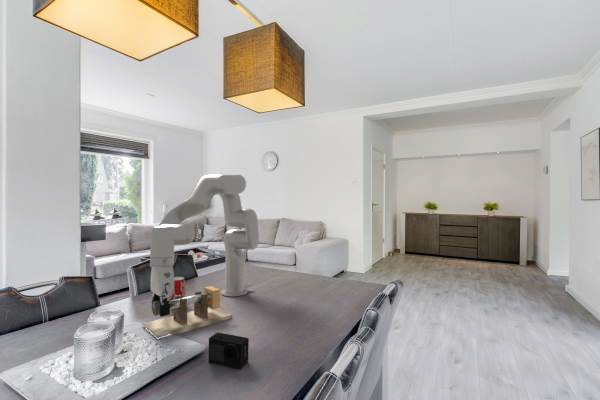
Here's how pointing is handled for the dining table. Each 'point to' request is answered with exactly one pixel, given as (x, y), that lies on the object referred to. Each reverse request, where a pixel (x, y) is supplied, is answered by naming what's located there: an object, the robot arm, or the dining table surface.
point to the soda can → (179, 287)
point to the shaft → (178, 302)
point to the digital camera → (228, 350)
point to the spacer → (213, 297)
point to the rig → (187, 318)
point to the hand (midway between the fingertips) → (160, 312)
